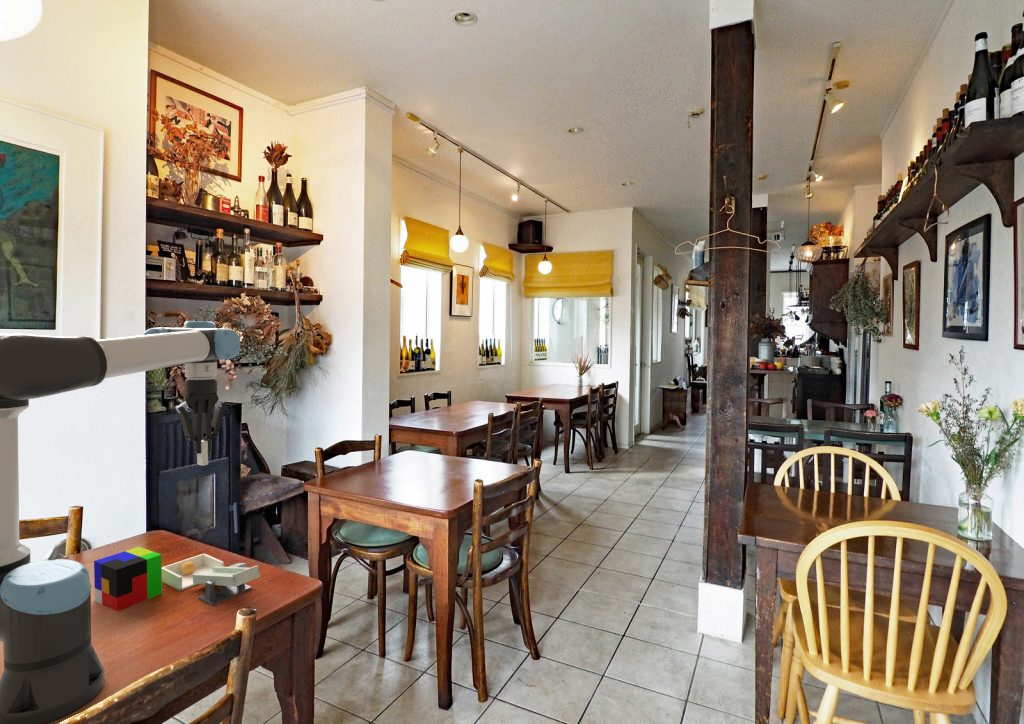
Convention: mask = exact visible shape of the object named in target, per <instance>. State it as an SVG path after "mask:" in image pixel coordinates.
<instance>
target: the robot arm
mask: <svg viewBox="0 0 1024 724" xmlns="http://www.w3.org/2000/svg"><path fill="white" fill-rule="evenodd" d="M240 349H241V339H240V336H239V334H238V333H237V332H236V331H235V330H234V329H231V328H223V327H219V328H218V327H217V326H216V323H215V322H214V321H210V320H209V321H205V320H202V321H201V320H200V321H199V320H186V321H185V322H184V323H183V327H163V326H162V327H161V326H159V327H151V328H147V330H145V331H144V332H143V334H142V335H134V336H125V337H116V338H115V337H114V338H113V337H112V338H105V339H95V338H93V337H91V336H89V335H88V336H87V335H78V336H52V335H37V334H28V333H0V642H2V649H3V672H2V674H1V677H0V724H46V723H50V722H52V721H55V720H57V719H60V718H61V717H64V716H65V717H66V716H67V715H69V714H71V713H73V712H75V711H76V710H78V709H80V708H81V707H83V706H84V705H86V704H87V703H89V702H90V701H91V700H93V699H94V698H95V697H96V696H97V695H98V694H99V693H100V692H101V691H102V690H103V687H104V685H105V670H104V669H105V668H104V666H103V664H102V662H101V661H100V658H99V656H98V654H97V652H96V650H95V648H94V646H93V644H92V600H91V599H92V595H91V592H92V583H91V580H90V574H89V571H88V569H87V567H86V566H85V565H84V564H83V563H81V562H80V561H76V560H73V559H66V558H56V559H53V560H50V559H43V560H42V559H41V560H38V561H33V562H31V548H29V547H28V546H26V545H24V544H22V543H20V498H19V496H20V495H19V490H20V487H19V483H20V482H19V481H20V480H19V479H20V477H19V415H20V414H21V413H23V412H24V411H25V410H27V409H28V408H29V407H30V403H29V401H30V400H33V399H40V398H44V397H49V396H54V395H57V394H62V393H67V392H71V391H76V390H81V389H86V388H89V387H91V388H92V387H94V386H99V385H100V384H101V383H102V382H104V380H105V379H109V378H115V377H120V376H125V375H126V376H127V375H132V374H137V373H142V372H148V371H153V370H154V371H155V370H159V369H165V368H169V367H170V368H171V367H175V366H180V365H184V377H185V378H186V379H185V380H184V392H185V397H184V398H183V402H182V403H180V404H179V405H175V406H174V409H175V411H176V413H177V414H178V416H179V420H180V423H181V426H182V427H181V428H182V431H183V432H184V433H183V434H184V437H185V439H186V440H187V441H192V442H193V453H194V454H196V464H197V465H199V466H207V465H209V452H211V451H212V445H211V444H212V443H211V442H212V441H213V440H214V438H217V437H218V436H219V433H220V429H221V423H222V420H223V415H224V410H225V409H226V407H227V406H228V403H227V402H226V401H223V400H220V398H219V395H218V393H217V392H218V379H217V378H216V377H217V376H218V360H221V361H223V360H230V359H234V358H235V357H236V356H238V354H239V352H240ZM214 407H215V408H214ZM188 409H189V411H190V413H191V417H192V418H191V419H192V422H191V419H190V415H189V412H188ZM213 409H214V411H213ZM212 415H213V416H212Z"/></svg>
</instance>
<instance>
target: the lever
mask: <svg viewBox="0 0 1024 724" xmlns="http://www.w3.org/2000/svg"><path fill="white" fill-rule="evenodd" d="M260 577H261V574H260V568H259V565H253V566H252V567H248V565H247V563H246V562H238V563H234V564H232V565H230V566H224V567H219V566H215V567H213V572H212V573H209V574H193V575H192V578H193V584H197V585H205V582H207V581H212V582H214V586H222V587H224V586H234V587H236V586H239V585H241V584H244V583H245V584H246V583H248V582H251V581H254V580H255V579H258V578H260Z"/></svg>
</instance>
